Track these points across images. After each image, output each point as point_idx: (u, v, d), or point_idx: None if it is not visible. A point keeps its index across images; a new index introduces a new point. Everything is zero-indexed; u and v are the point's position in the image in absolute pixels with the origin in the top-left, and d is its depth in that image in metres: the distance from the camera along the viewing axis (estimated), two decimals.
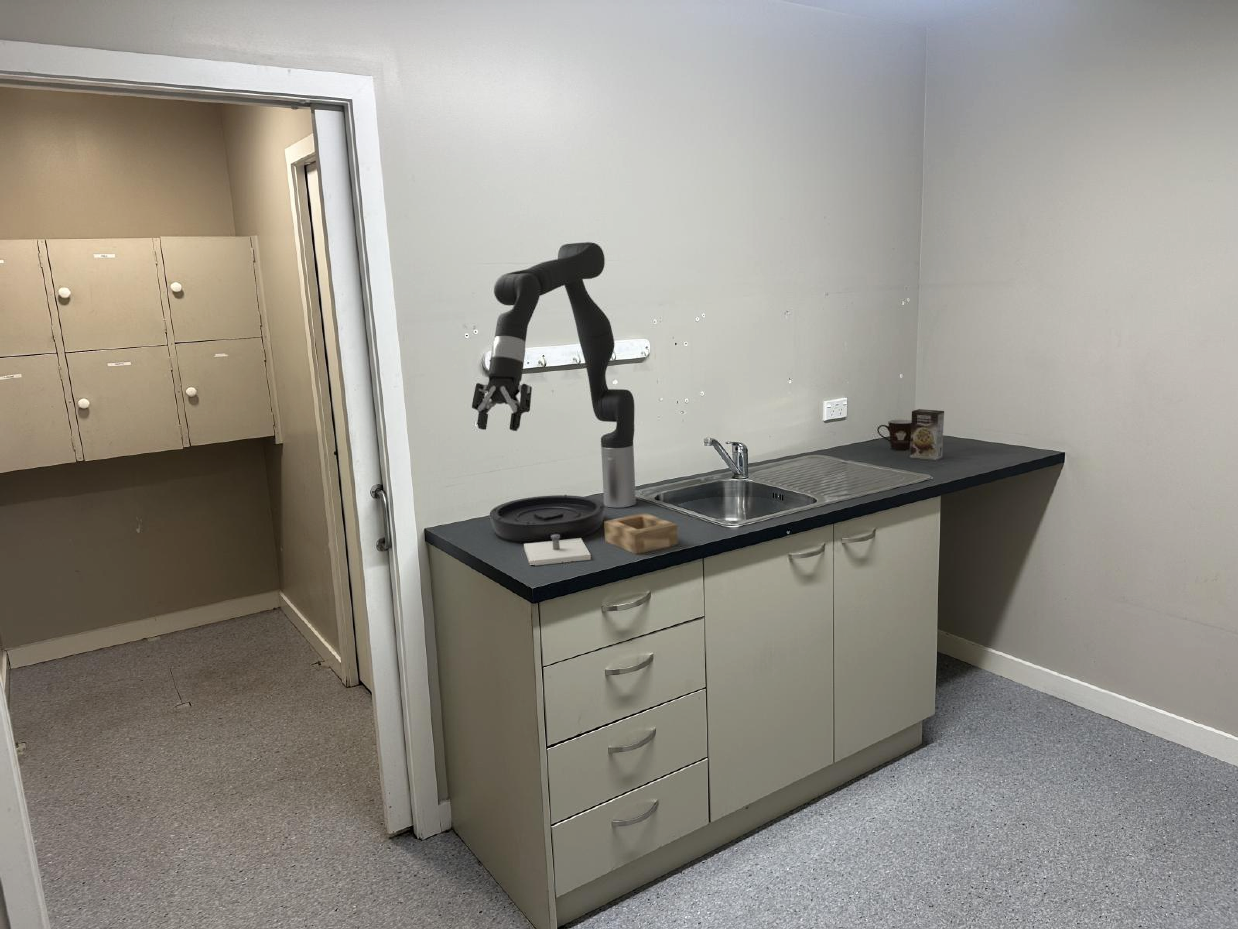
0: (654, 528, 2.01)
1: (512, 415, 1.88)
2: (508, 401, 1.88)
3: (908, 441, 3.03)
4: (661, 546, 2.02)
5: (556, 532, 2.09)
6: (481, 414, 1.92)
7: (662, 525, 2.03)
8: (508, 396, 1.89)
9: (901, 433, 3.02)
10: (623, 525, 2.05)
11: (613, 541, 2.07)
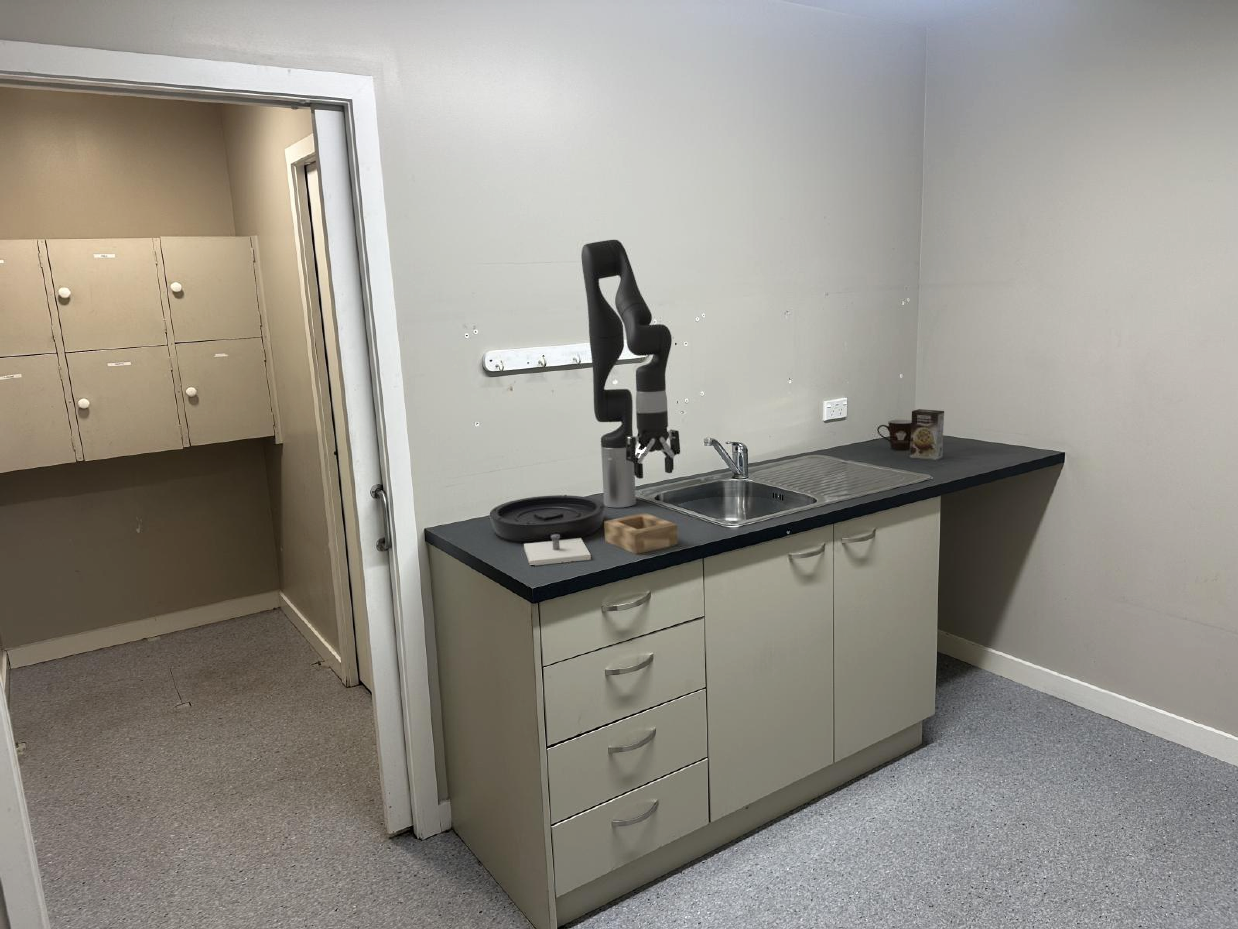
0: (654, 528, 2.01)
1: (670, 460, 2.07)
2: (667, 449, 2.06)
3: (908, 441, 3.03)
4: (661, 546, 2.02)
5: (556, 532, 2.09)
6: (641, 465, 2.03)
7: (662, 525, 2.03)
8: (667, 445, 2.05)
9: (901, 433, 3.02)
10: (623, 525, 2.05)
11: (613, 541, 2.07)
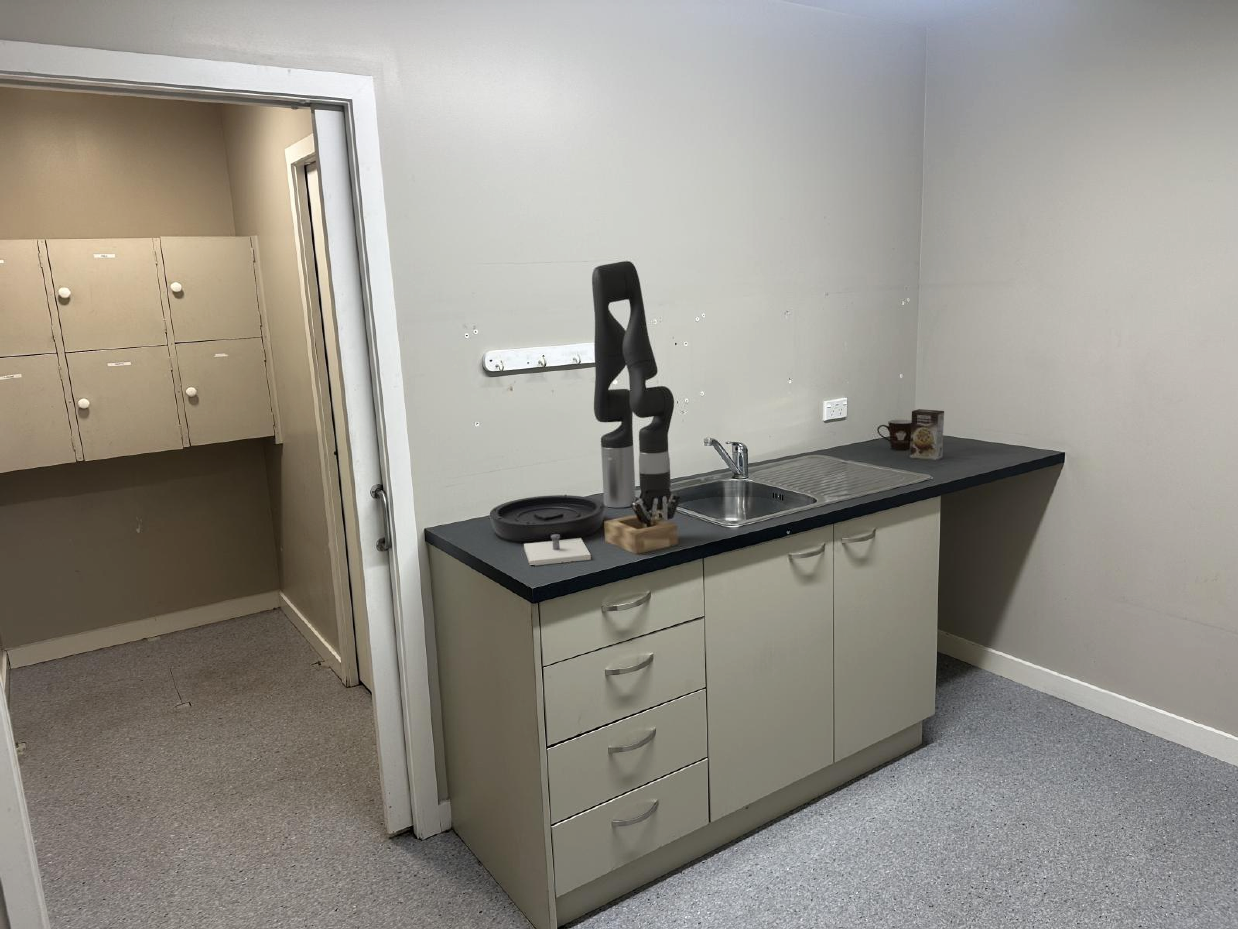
0: (654, 528, 2.01)
1: None
2: (664, 511, 2.08)
3: (908, 441, 3.03)
4: (661, 546, 2.02)
5: (556, 532, 2.09)
6: None
7: (662, 525, 2.03)
8: (666, 507, 2.08)
9: (901, 433, 3.02)
10: (623, 525, 2.05)
11: (613, 541, 2.07)
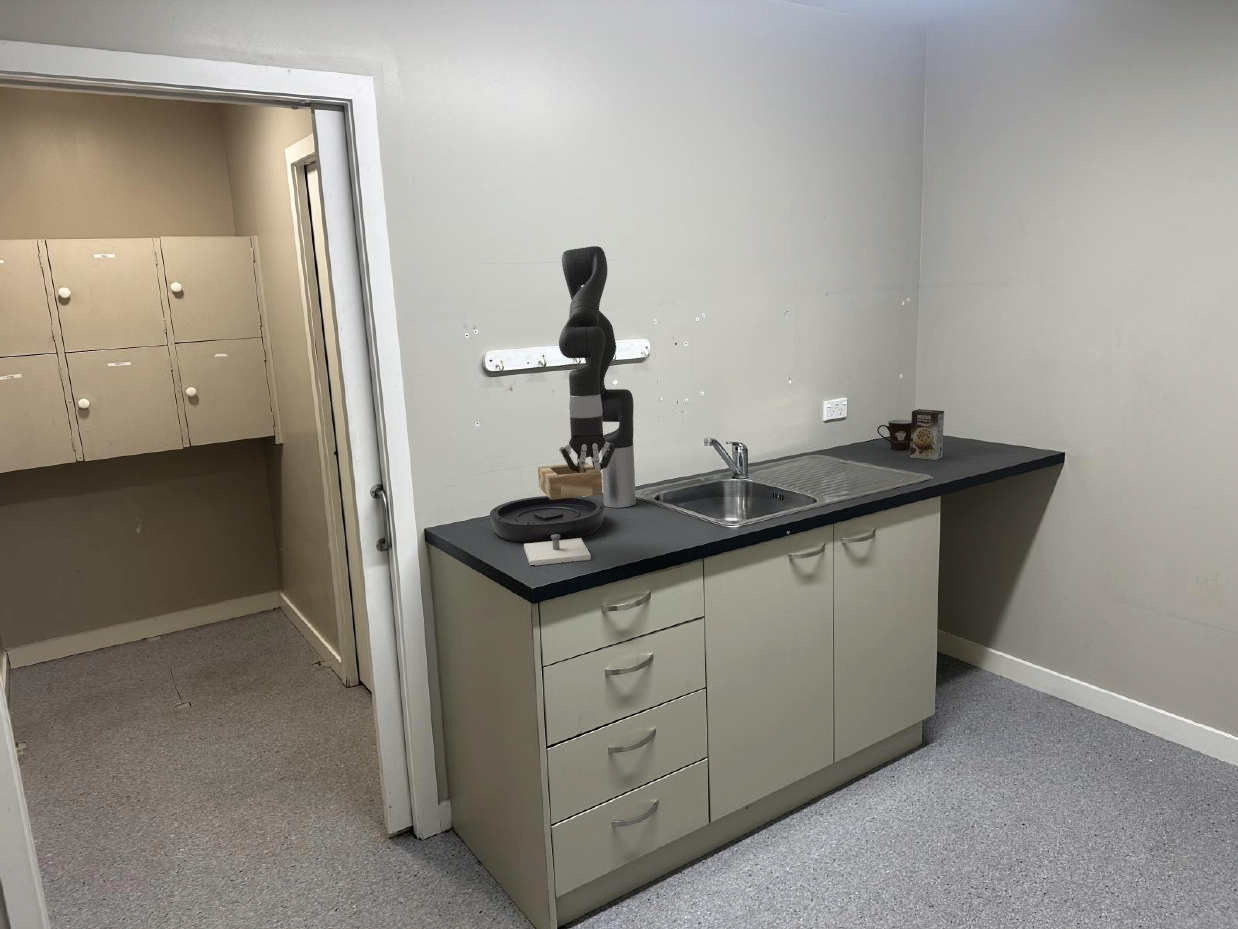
0: (574, 474, 1.92)
1: None
2: (595, 459, 1.98)
3: (908, 441, 3.03)
4: (582, 494, 1.93)
5: (556, 532, 2.09)
6: None
7: (586, 473, 1.94)
8: (597, 455, 1.98)
9: (901, 433, 3.02)
10: (550, 471, 1.98)
11: (542, 487, 2.00)
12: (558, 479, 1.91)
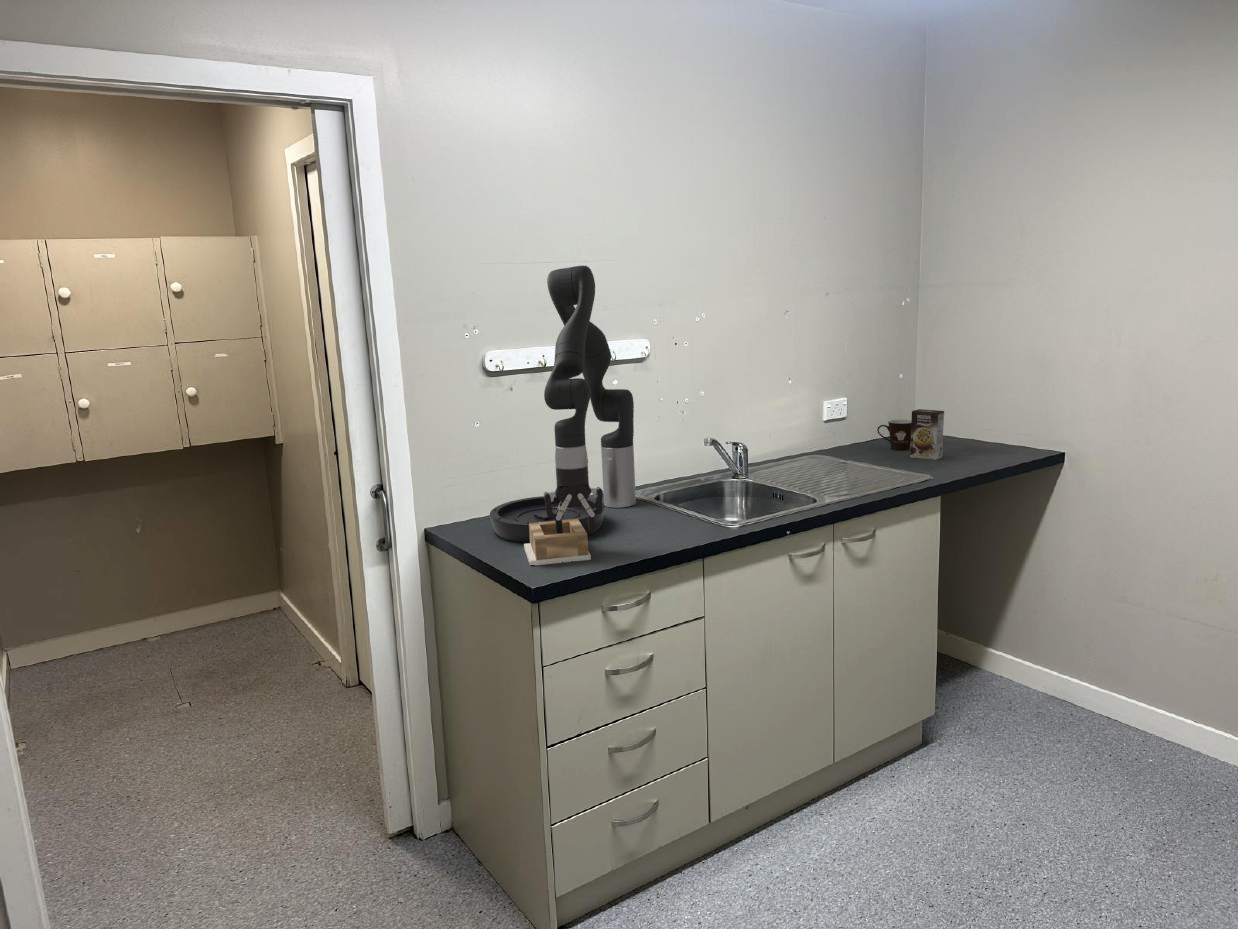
0: (560, 535, 1.94)
1: (590, 520, 2.01)
2: (586, 507, 1.99)
3: (908, 441, 3.03)
4: (567, 554, 1.95)
5: None
6: (561, 522, 1.99)
7: (572, 533, 1.96)
8: (586, 502, 1.99)
9: (901, 433, 3.02)
10: (538, 529, 2.00)
11: (531, 544, 2.03)
12: (543, 540, 1.93)
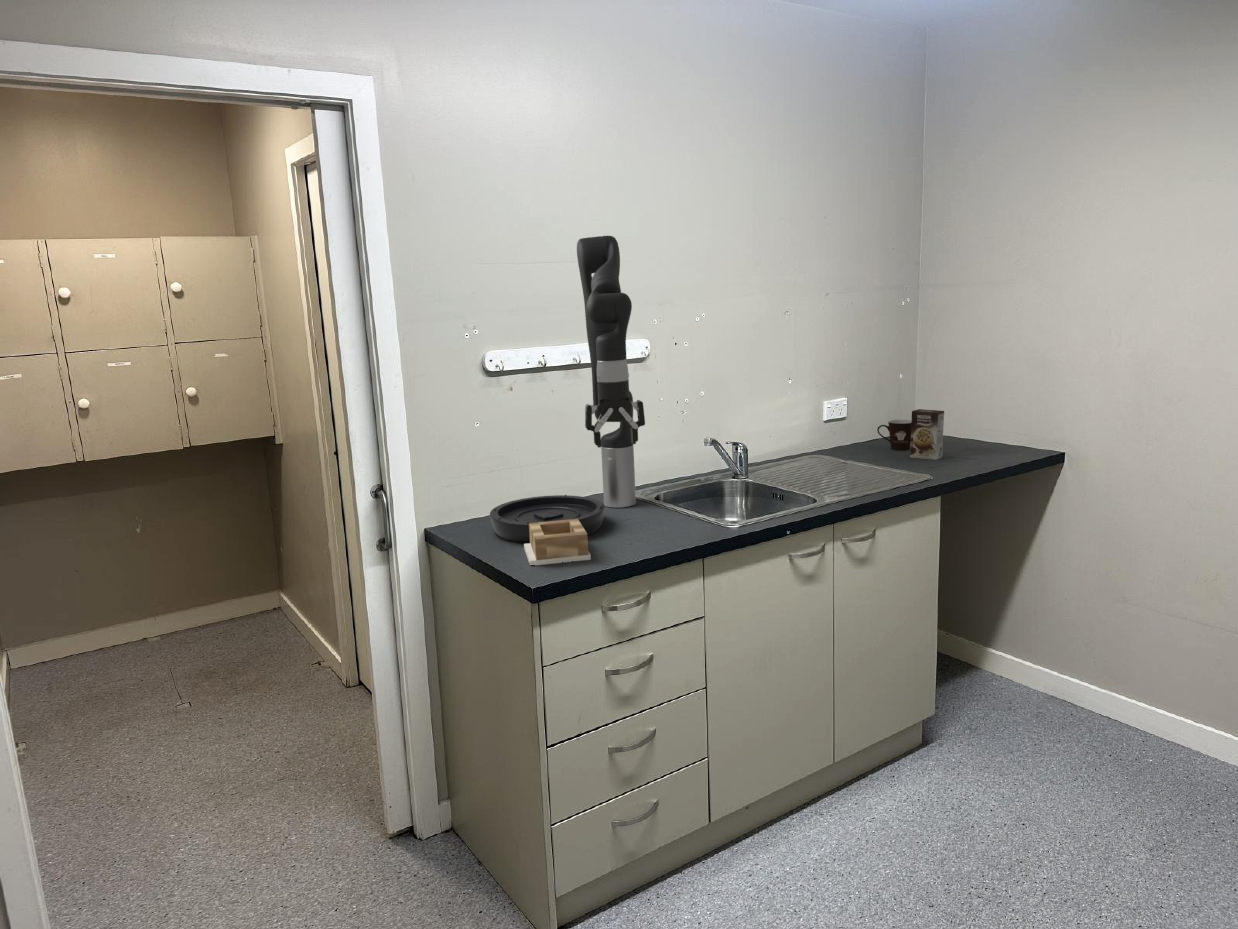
0: (560, 535, 1.94)
1: (633, 431, 2.05)
2: (629, 420, 2.04)
3: (908, 441, 3.03)
4: (567, 554, 1.95)
5: None
6: (599, 434, 2.04)
7: (572, 533, 1.96)
8: (628, 415, 2.03)
9: (901, 433, 3.02)
10: (538, 529, 2.00)
11: (531, 544, 2.03)
12: (543, 540, 1.93)
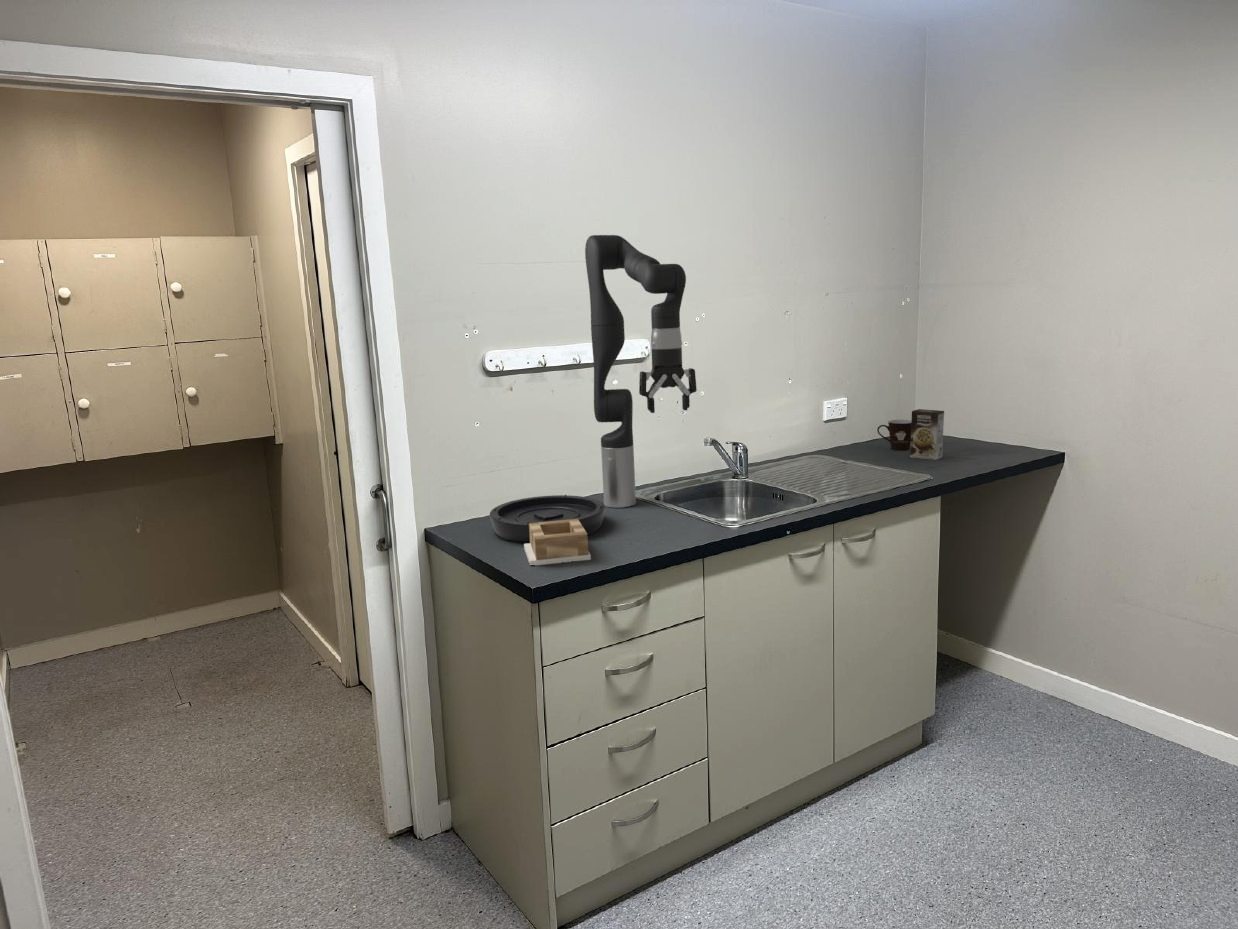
0: (560, 535, 1.94)
1: (685, 398, 2.13)
2: (681, 386, 2.12)
3: (908, 441, 3.03)
4: (567, 554, 1.95)
5: None
6: (653, 400, 2.12)
7: (572, 533, 1.96)
8: (680, 382, 2.12)
9: (901, 433, 3.02)
10: (538, 529, 2.00)
11: (531, 544, 2.03)
12: (543, 540, 1.93)
